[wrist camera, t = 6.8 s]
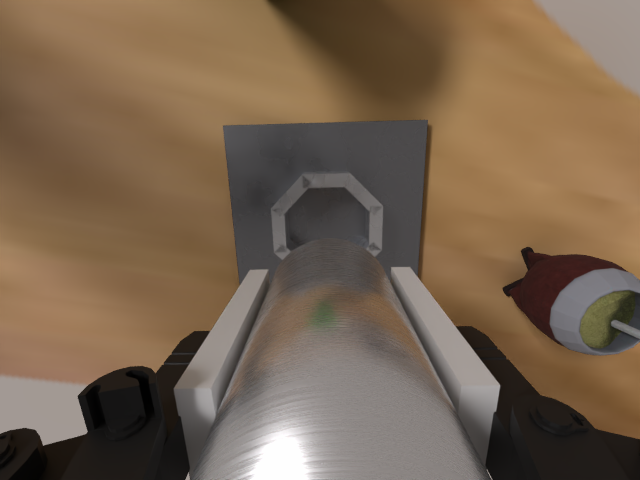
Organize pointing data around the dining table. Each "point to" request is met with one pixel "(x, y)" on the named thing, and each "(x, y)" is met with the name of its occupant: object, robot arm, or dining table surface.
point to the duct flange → (326, 189)
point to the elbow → (335, 384)
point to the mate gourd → (580, 301)
